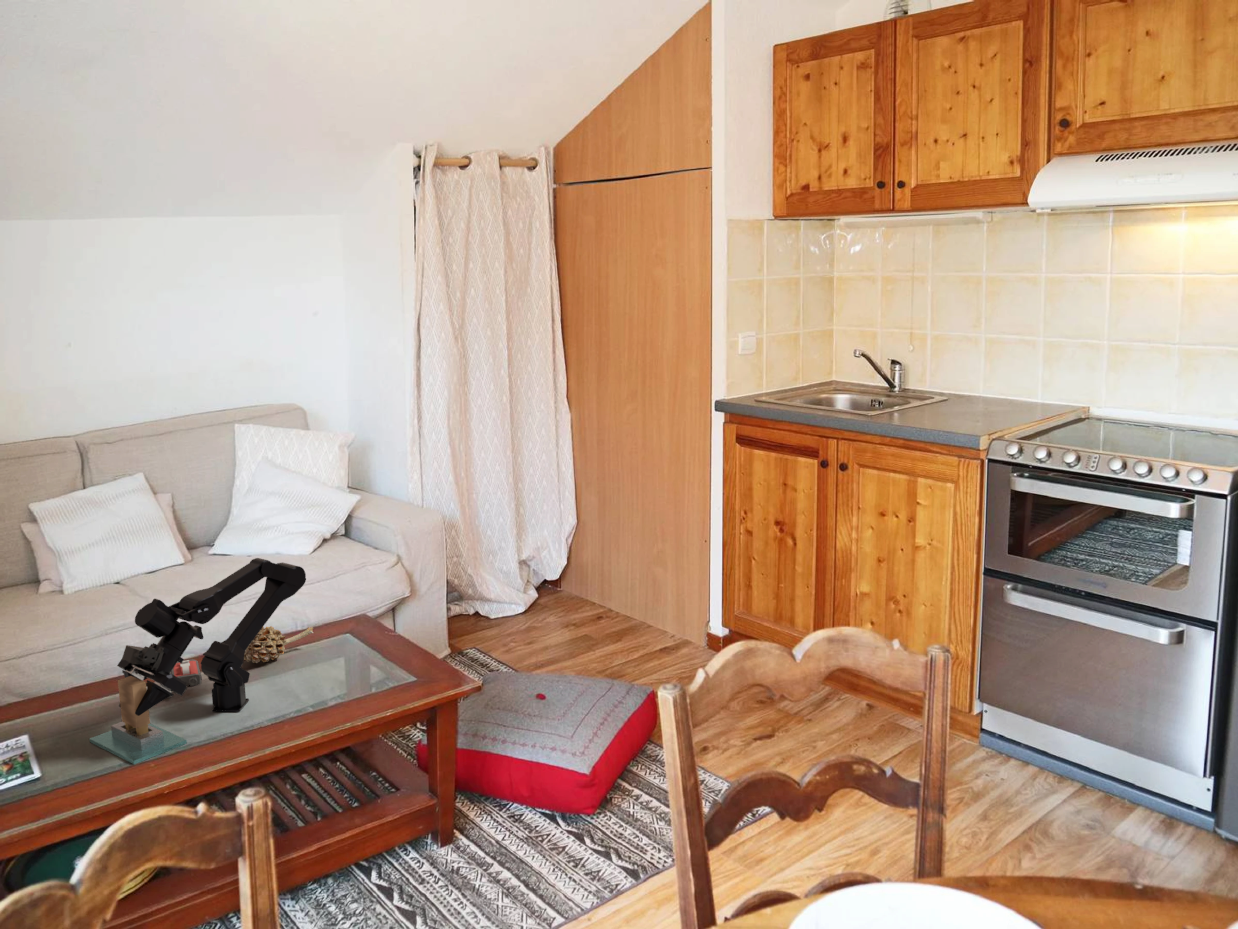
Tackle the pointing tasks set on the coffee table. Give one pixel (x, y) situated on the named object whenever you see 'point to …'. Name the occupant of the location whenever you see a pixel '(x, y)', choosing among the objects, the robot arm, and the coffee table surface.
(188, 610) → the robot arm
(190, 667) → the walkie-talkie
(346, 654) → the coffee table surface
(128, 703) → the tan cardboard brick
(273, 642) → the dried banksia seed pod
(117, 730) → the teal holder base
